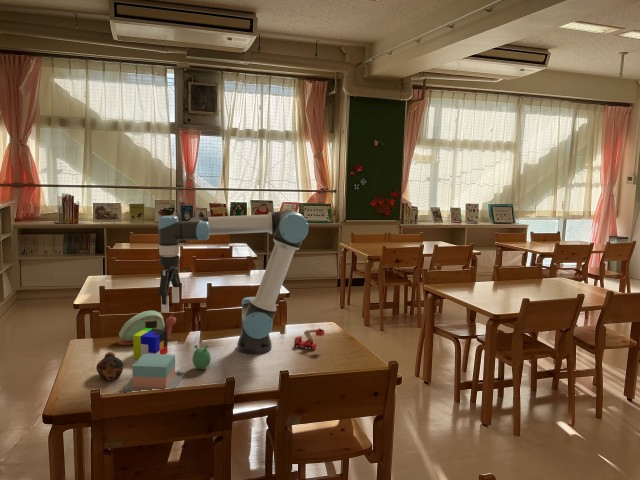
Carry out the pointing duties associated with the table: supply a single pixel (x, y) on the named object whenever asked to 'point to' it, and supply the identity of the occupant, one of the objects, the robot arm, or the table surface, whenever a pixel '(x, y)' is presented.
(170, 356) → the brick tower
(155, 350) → the puzzle toy
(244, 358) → the table surface
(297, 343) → the toy fire truck
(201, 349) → the alien toy
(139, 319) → the toy snail
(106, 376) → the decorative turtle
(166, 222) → the robot arm
